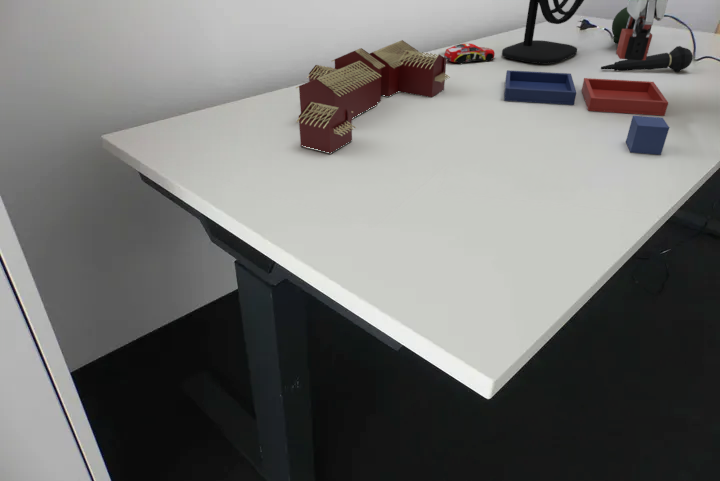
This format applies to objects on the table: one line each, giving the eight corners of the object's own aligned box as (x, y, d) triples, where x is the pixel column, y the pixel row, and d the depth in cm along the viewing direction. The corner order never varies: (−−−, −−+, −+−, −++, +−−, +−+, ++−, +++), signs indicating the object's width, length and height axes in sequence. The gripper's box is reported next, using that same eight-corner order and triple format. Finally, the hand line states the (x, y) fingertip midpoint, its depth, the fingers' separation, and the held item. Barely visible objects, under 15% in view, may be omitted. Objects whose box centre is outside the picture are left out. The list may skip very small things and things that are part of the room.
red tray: (650, 94, 113) (653, 81, 111) (664, 116, 102) (668, 102, 100) (581, 90, 115) (584, 77, 114) (588, 111, 104) (591, 97, 103)
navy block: (655, 144, 90) (663, 117, 88) (661, 154, 87) (669, 127, 84) (625, 141, 91) (632, 115, 89) (630, 152, 88) (637, 125, 85)
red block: (641, 54, 105) (647, 29, 103) (645, 60, 101) (652, 34, 99) (615, 53, 106) (622, 28, 104) (619, 59, 102) (625, 33, 100)
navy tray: (568, 85, 118) (571, 73, 117) (573, 105, 107) (576, 92, 106) (505, 81, 121) (506, 70, 120) (503, 100, 110) (505, 88, 109)
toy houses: (375, 74, 127) (375, 29, 122) (455, 87, 118) (459, 39, 113) (245, 136, 95) (237, 78, 90) (342, 160, 86) (340, 98, 81)
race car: (488, 56, 141) (490, 40, 139) (498, 61, 136) (500, 44, 134) (441, 59, 138) (442, 43, 136) (449, 65, 134) (450, 48, 132)
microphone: (601, 85, 128) (691, 75, 125) (606, 63, 124) (699, 52, 121) (595, 72, 131) (683, 62, 129) (600, 50, 127) (690, 40, 125)
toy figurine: (610, 41, 159) (604, 53, 139) (626, -30, 151) (623, -29, 131) (645, 44, 156) (644, 56, 136) (663, -29, 147) (666, -28, 127)
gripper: (695, -47, 86) (661, 68, 96) (671, -56, 100) (643, 46, 110) (645, -48, 88) (616, 66, 97) (627, -56, 101) (604, 44, 111)
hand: (631, 54), depth 104 cm, fingers closed on red block, 4 cm apart
